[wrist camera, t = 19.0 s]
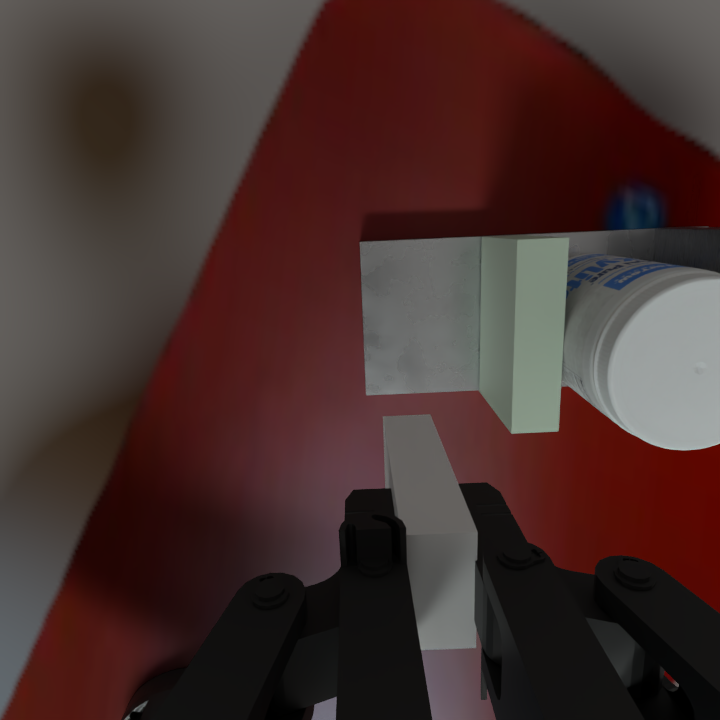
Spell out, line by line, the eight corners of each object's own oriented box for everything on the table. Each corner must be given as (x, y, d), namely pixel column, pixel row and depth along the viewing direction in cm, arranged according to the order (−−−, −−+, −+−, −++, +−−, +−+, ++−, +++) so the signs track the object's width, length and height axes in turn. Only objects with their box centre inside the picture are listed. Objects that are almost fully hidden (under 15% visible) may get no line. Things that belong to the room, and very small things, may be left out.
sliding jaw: (479, 391, 42) (511, 433, 33) (481, 236, 39) (517, 239, 30) (517, 389, 42) (558, 431, 33) (522, 235, 39) (569, 237, 30)
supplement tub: (577, 227, 39) (707, 227, 25) (667, 302, 40) (839, 345, 26) (492, 329, 41) (567, 386, 26) (582, 398, 42) (698, 487, 28)
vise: (365, 387, 44) (369, 439, 33) (359, 241, 41) (361, 246, 30) (675, 373, 44) (778, 421, 33) (691, 226, 41) (811, 226, 30)
